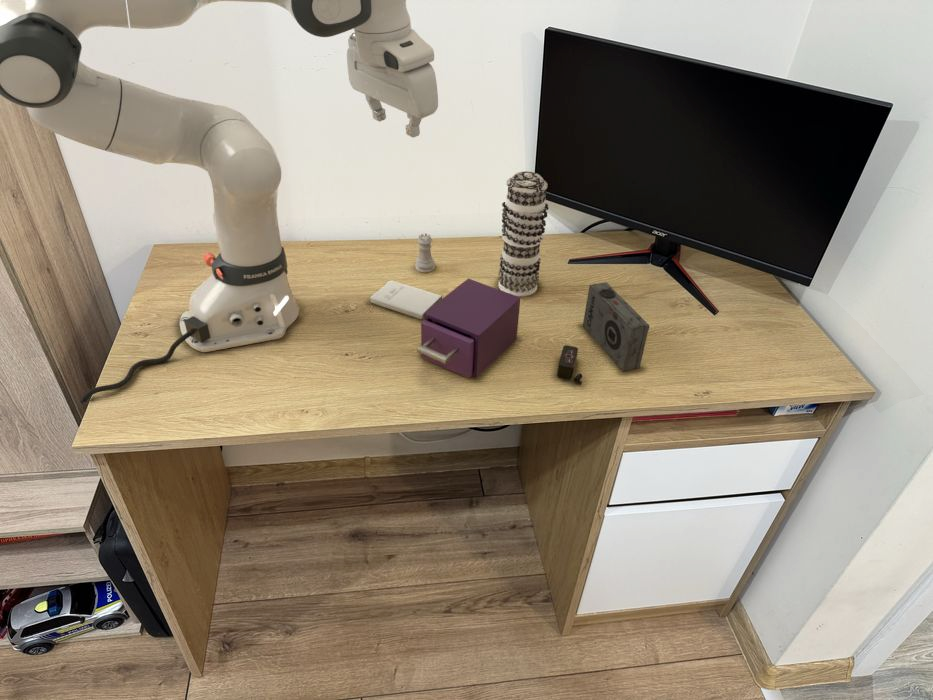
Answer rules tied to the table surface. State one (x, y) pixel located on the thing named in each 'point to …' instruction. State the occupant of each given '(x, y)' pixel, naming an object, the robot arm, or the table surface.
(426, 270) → the rook chess piece
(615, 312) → the camera
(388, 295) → the hard drive
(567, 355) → the wireless earbuds
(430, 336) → the drawer
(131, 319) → the table surface
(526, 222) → the decorative candle
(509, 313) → the file cabinet
